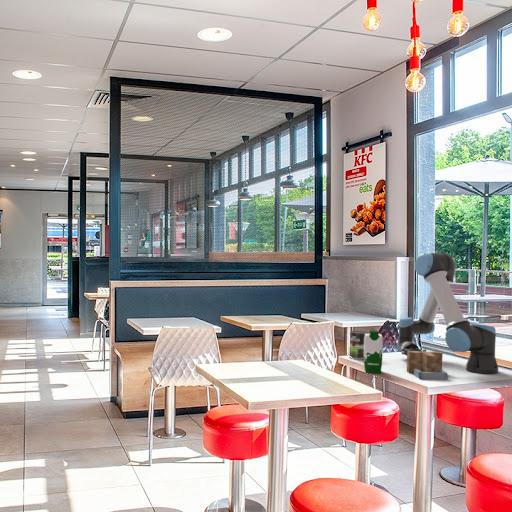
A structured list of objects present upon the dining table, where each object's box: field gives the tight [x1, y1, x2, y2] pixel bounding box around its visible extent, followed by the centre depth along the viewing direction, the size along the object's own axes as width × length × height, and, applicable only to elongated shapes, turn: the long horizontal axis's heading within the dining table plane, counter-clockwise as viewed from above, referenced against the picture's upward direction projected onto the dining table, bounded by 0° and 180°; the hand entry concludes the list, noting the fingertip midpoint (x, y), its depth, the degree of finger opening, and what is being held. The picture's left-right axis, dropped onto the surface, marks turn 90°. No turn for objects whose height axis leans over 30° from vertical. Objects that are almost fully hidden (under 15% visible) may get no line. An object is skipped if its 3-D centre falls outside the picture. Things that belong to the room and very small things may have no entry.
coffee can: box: [349, 330, 370, 360], centre depth 335 cm, size 10×10×14 cm
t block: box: [406, 350, 444, 374], centre depth 293 cm, size 16×12×10 cm
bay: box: [413, 368, 448, 380], centre depth 286 cm, size 13×9×3 cm
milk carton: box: [363, 330, 384, 374], centre depth 296 cm, size 9×9×20 cm
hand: (422, 357), depth 300 cm, fingers closed
